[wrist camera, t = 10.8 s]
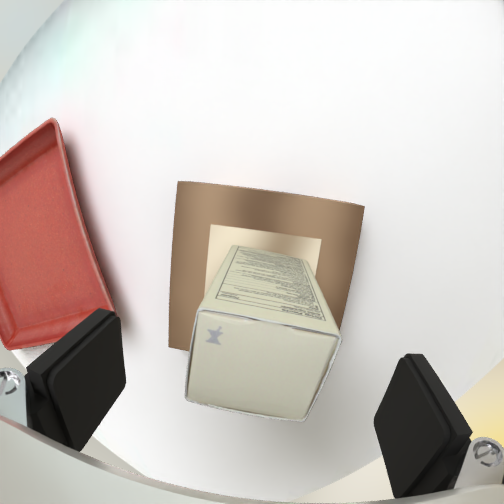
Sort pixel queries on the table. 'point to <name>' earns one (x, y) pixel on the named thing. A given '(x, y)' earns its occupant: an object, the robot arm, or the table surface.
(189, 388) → the skincare box
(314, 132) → the table surface
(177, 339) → the base slab
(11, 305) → the plant saucer
